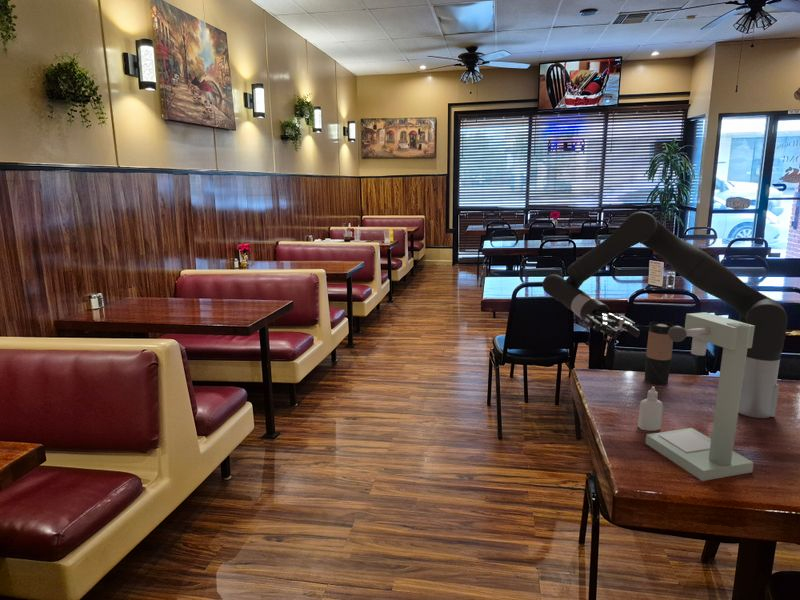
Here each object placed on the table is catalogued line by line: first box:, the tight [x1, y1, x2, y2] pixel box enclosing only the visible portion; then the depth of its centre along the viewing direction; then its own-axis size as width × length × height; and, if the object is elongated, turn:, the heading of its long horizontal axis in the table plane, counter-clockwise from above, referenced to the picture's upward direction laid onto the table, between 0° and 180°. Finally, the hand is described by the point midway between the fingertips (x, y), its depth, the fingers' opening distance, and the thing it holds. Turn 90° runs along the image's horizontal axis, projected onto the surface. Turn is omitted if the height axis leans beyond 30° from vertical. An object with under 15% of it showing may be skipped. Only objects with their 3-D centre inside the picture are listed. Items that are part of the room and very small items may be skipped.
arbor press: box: [645, 312, 755, 482], centre depth 120 cm, size 18×20×35 cm
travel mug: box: [644, 321, 675, 385], centre depth 171 cm, size 8×8×20 cm
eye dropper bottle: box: [637, 386, 664, 432], centre depth 138 cm, size 4×6×12 cm
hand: (627, 334), depth 143 cm, fingers open, 8 cm apart
